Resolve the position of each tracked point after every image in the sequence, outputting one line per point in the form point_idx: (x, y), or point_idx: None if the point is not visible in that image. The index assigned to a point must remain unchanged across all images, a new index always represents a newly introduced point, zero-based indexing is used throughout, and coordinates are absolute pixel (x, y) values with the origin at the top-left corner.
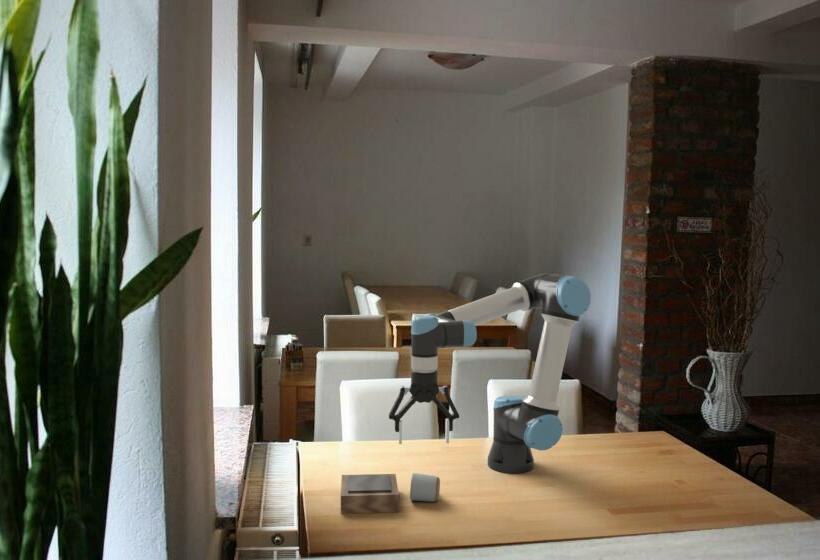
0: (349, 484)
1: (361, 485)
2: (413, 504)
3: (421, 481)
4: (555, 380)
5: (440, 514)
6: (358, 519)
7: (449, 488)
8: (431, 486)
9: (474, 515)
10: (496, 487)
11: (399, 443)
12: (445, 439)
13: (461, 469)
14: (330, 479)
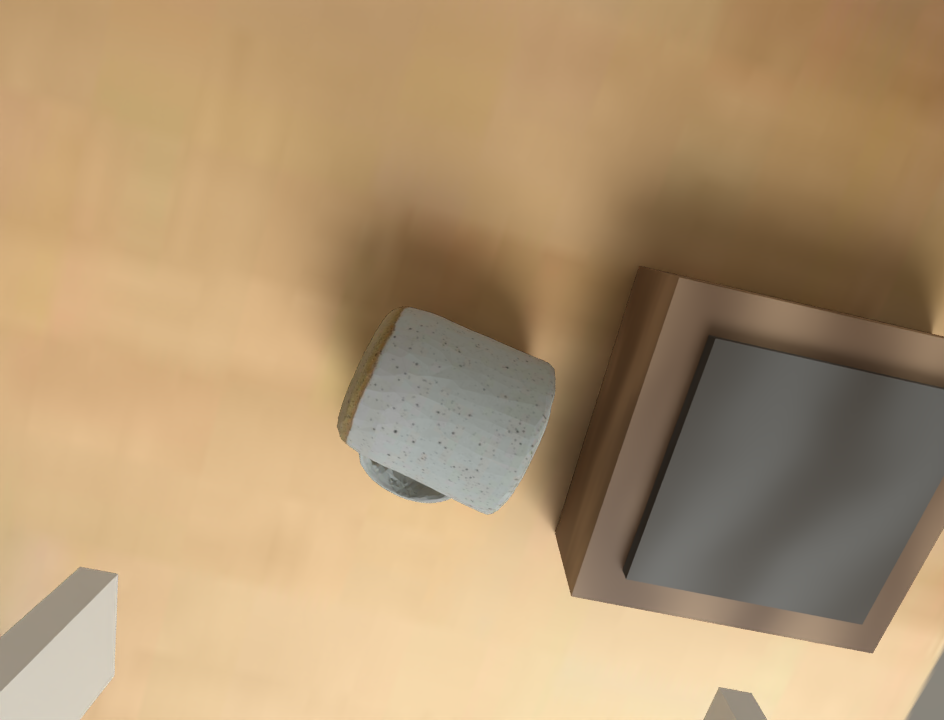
0: (925, 494)
1: (864, 460)
2: (526, 342)
3: (483, 385)
4: None
5: (424, 167)
6: (880, 233)
7: (278, 484)
8: (424, 335)
9: (232, 93)
10: (22, 434)
11: (752, 699)
12: (101, 679)
13: (161, 676)
14: (800, 712)
